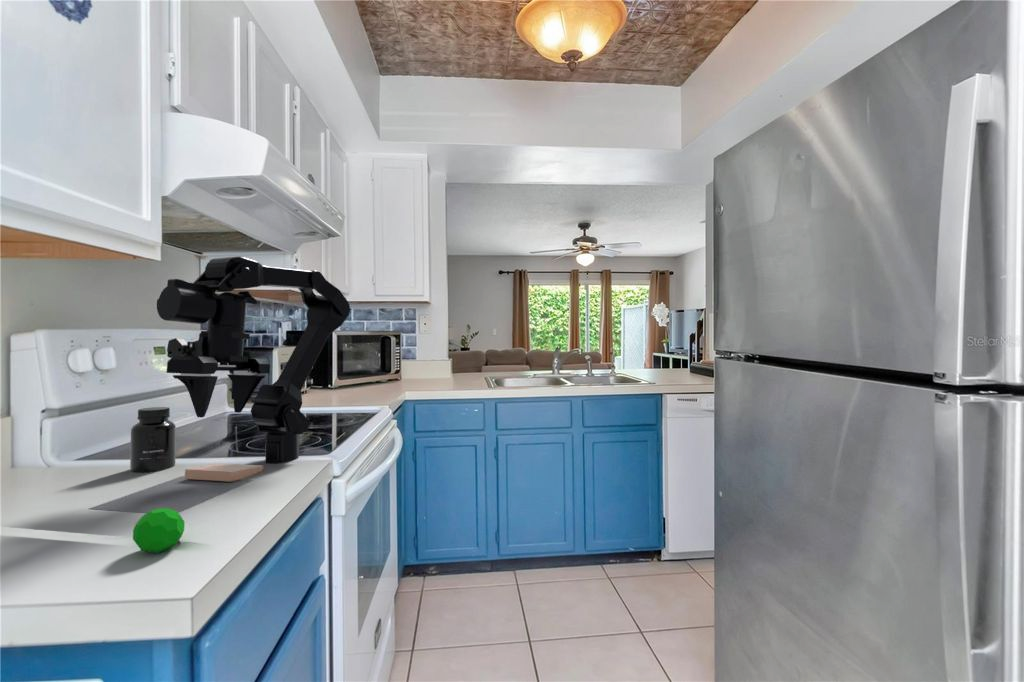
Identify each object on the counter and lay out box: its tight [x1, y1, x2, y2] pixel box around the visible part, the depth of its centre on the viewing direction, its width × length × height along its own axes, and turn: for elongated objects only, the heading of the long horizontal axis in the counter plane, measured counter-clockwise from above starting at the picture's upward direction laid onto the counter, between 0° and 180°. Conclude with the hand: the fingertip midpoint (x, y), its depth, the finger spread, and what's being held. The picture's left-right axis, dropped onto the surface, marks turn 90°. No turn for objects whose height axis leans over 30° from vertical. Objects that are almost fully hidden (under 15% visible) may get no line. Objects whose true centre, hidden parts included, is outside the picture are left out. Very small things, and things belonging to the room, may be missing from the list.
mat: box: [88, 475, 254, 514], centre depth 75 cm, size 16×14×1 cm
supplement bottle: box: [129, 406, 177, 474], centre depth 90 cm, size 7×7×12 cm
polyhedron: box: [132, 508, 185, 553], centre depth 57 cm, size 5×5×5 cm
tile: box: [184, 462, 264, 482], centre depth 85 cm, size 2×9×8 cm
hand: (220, 414), depth 84 cm, fingers open, 9 cm apart
